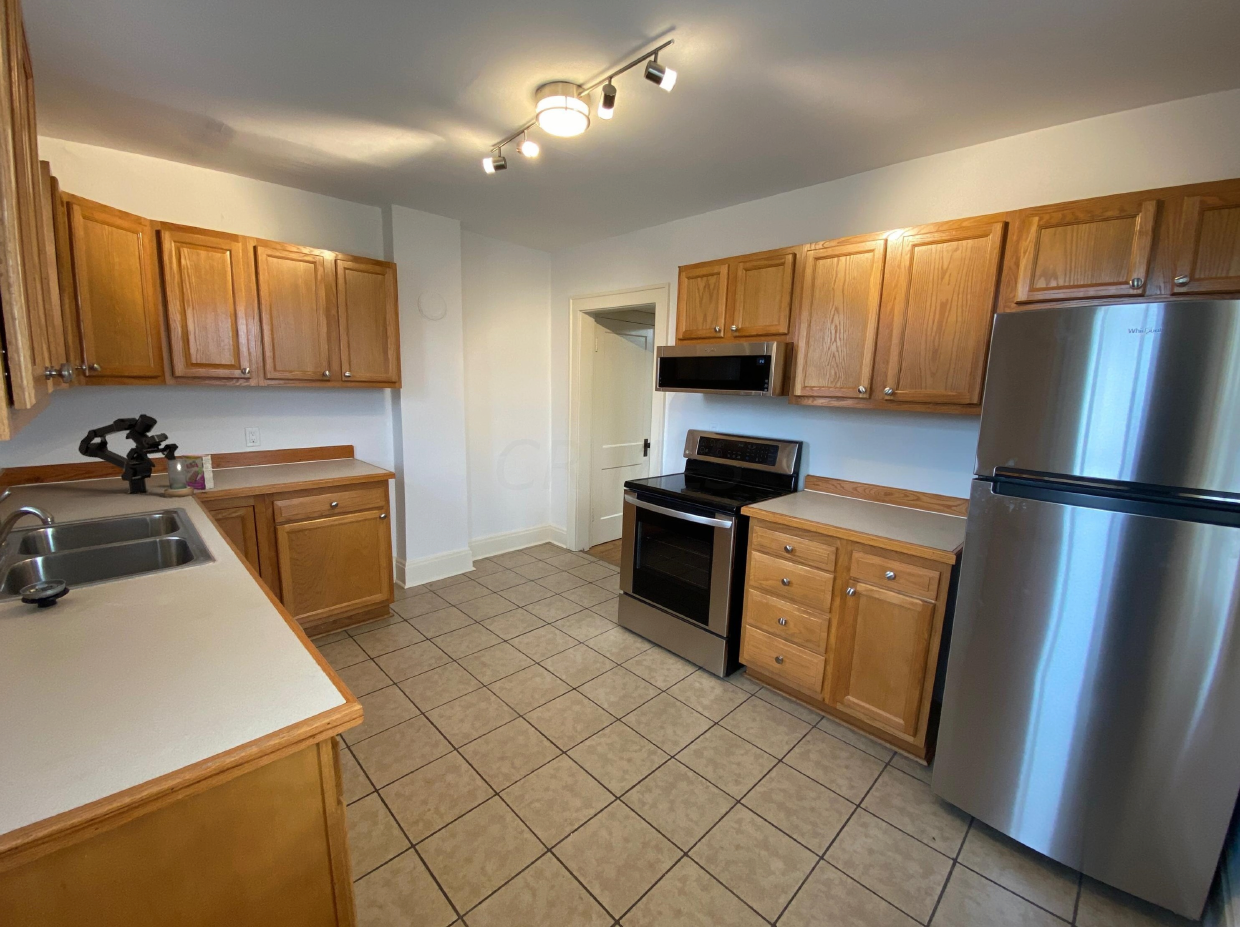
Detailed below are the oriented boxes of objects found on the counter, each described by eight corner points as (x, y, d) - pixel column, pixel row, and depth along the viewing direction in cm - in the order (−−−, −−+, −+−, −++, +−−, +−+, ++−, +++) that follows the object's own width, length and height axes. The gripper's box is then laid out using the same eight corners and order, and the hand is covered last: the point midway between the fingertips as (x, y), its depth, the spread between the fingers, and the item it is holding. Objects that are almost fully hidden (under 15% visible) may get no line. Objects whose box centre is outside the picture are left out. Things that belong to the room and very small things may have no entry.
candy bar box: (184, 488, 242) (180, 455, 239) (194, 486, 246) (190, 453, 244) (205, 489, 241) (201, 456, 238) (215, 487, 245) (211, 454, 243)
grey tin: (166, 488, 227) (163, 460, 225) (182, 486, 232) (179, 458, 230) (174, 490, 224) (171, 461, 222) (190, 487, 230) (187, 459, 228)
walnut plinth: (166, 494, 230) (165, 487, 229) (195, 492, 236) (194, 485, 235) (163, 498, 222) (162, 491, 221) (192, 496, 228) (191, 489, 227)
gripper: (127, 429, 217) (152, 456, 217) (172, 426, 235) (195, 450, 235) (115, 447, 219) (139, 473, 219) (160, 442, 237) (183, 466, 237)
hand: (165, 465), depth 228 cm, fingers open, 9 cm apart
